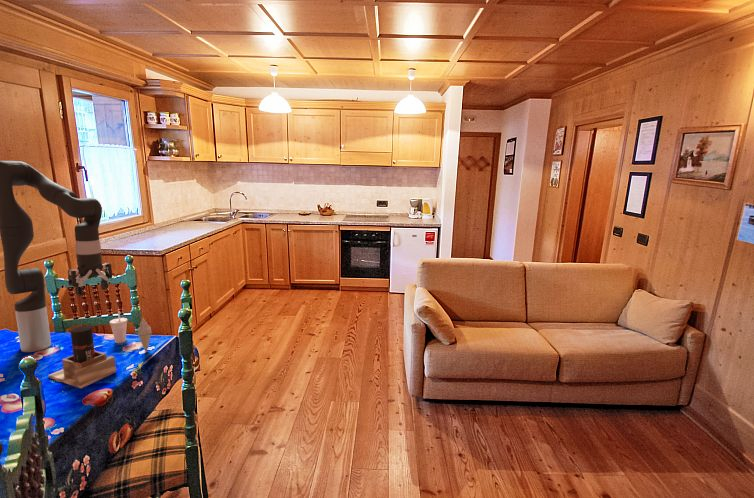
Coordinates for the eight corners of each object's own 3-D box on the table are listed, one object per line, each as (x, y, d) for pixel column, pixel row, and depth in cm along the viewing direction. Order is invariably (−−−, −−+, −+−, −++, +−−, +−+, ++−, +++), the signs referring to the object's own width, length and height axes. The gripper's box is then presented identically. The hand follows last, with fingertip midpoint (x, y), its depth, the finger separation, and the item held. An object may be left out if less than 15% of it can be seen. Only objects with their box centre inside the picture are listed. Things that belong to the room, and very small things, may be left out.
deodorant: (86, 372, 130) (81, 332, 127) (70, 371, 130) (65, 331, 127) (100, 364, 135) (96, 326, 132) (85, 363, 136) (80, 325, 133)
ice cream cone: (140, 349, 154) (137, 315, 151) (154, 347, 156) (151, 314, 153) (137, 354, 150) (134, 320, 147) (152, 353, 152) (149, 318, 149)
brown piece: (48, 377, 131) (46, 361, 130) (85, 362, 142) (83, 348, 141) (80, 388, 125) (78, 372, 124) (116, 371, 137) (114, 356, 135)
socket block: (64, 376, 130) (62, 359, 129) (91, 364, 139) (89, 348, 137) (81, 382, 127) (79, 364, 126) (107, 370, 136) (106, 353, 134)
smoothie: (120, 345, 157) (117, 314, 155) (107, 343, 158) (104, 312, 156) (132, 339, 163) (130, 309, 161) (120, 337, 165) (117, 307, 162)
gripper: (74, 256, 131) (78, 299, 134) (114, 249, 144) (118, 289, 147) (60, 253, 133) (65, 296, 137) (101, 247, 147) (105, 286, 150)
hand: (92, 292), depth 142 cm, fingers open, 8 cm apart
